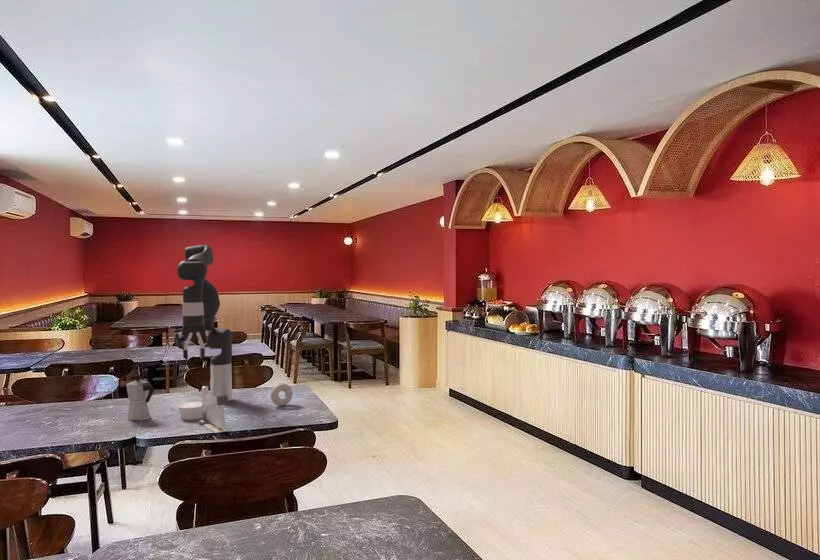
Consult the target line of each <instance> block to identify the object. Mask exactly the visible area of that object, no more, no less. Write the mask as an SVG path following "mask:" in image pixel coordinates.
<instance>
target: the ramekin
mask: <svg viewBox="0 0 820 560" xmlns="http://www.w3.org/2000/svg"><path fill="white" fill-rule="evenodd" d="M177 409H178V411H179V415H180V419H182V420H184V419H187V420H186V421H194V419H195V420H200V419H202V401H190V402H186V403H181V404H179V405H178V408H177Z"/></svg>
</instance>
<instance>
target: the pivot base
mask: <svg viewBox="0 0 820 560" xmlns="http://www.w3.org/2000/svg"><path fill="white" fill-rule="evenodd" d="M211 423H212V422H210V421H209V420H202V418H200V419H197V424H198V425H201V424H203V426H204V424H211Z"/></svg>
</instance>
